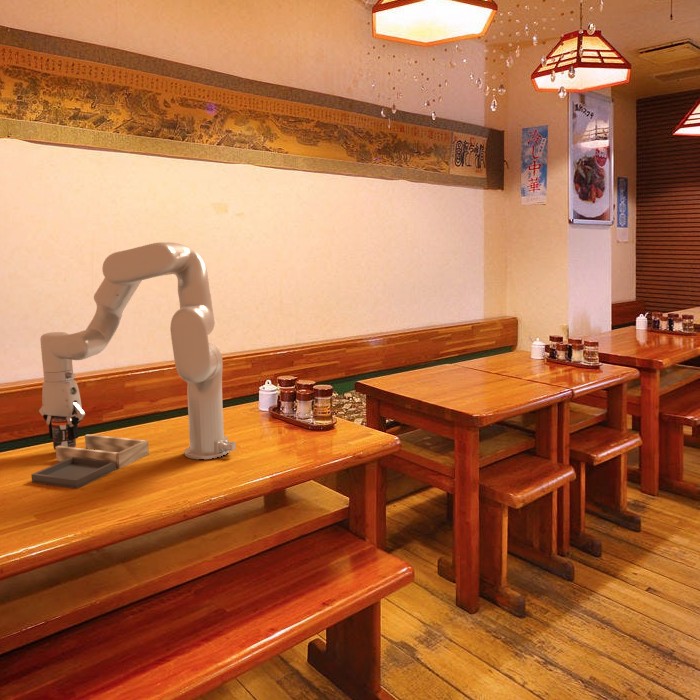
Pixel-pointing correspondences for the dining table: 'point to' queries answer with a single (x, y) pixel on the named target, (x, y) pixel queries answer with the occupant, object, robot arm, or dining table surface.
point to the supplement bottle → (61, 432)
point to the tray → (74, 472)
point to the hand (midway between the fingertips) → (64, 437)
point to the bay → (106, 450)
